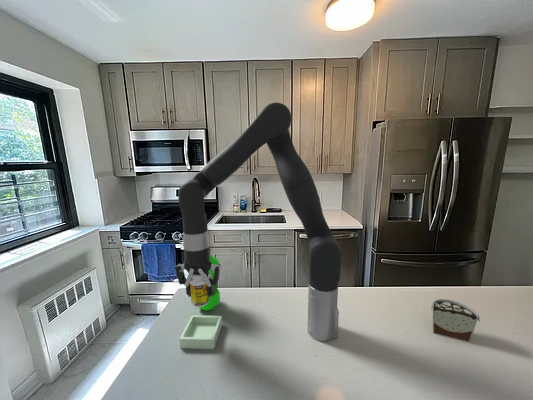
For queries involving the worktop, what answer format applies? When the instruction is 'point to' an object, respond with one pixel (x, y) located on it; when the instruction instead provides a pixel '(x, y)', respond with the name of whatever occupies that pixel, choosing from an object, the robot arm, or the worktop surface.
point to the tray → (201, 332)
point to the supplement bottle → (198, 291)
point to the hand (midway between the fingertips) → (200, 295)
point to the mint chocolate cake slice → (453, 319)
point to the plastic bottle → (215, 295)
